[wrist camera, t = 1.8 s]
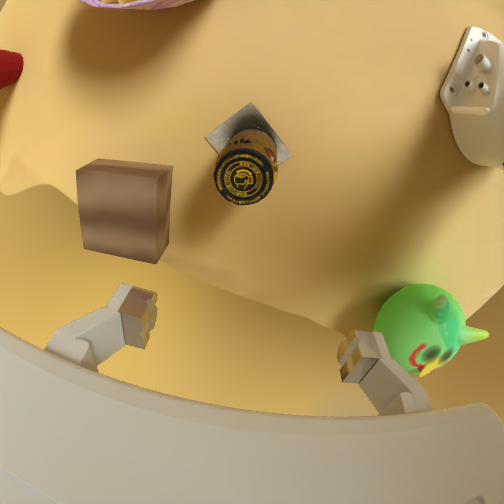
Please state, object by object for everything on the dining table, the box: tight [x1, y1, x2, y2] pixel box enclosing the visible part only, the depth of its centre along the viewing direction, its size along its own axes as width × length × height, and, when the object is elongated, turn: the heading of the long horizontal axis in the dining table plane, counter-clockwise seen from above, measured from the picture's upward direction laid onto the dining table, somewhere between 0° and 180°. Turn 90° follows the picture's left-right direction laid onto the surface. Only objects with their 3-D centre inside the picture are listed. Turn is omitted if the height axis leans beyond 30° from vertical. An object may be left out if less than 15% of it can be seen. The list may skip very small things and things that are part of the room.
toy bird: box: [373, 284, 489, 377], centre depth 39 cm, size 18×17×15 cm
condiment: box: [205, 103, 292, 205], centre depth 29 cm, size 7×8×12 cm
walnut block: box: [76, 159, 173, 264], centre depth 36 cm, size 12×12×6 cm
